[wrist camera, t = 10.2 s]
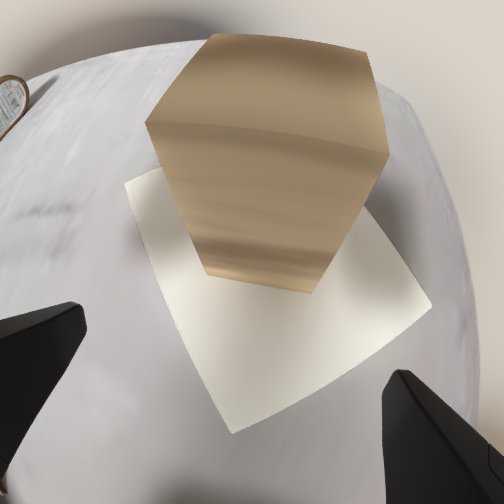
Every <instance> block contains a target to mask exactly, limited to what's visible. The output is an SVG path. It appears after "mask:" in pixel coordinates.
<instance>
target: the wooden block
mask: <svg viewBox="0 0 504 504" xmlns="http://www.w3.org/2000/svg"><path fill="white" fill-rule="evenodd" d="M145 124H146V127H147V130H148V132H149V135H150V138H151V141H152V143H153V146H154V149H155V151H156V154H157V157H158V159H159V162H160V164H161V167H162V170H163V172H164V175H165V177H166V180H167V182H168V185H169V187H170V190H171V192H172V195H173V197H174V200H175V202H176V205H177V207H178V209H179V212H180V214H181V217H182V219H183V221H184V224H185V226H186V229H187V231H188V233H189V236H190V238H191V240H192V243H193V245H194V247H195V249H196V252H197V254H198V256H199V259H200V261H201V263H202V265H203V268H204V270H205V272H206V274H207V275H209V276H215V277H220V278H225V279H230V280H235V281H240V282H246V283H251V284H257V285H262V286H268V287H273V288H279V289H284V290H290V291H296V292H302V293H308V294H312V292H313V291H314V289H315V287H316V286H317V284H318V283H319V281H320V279H321V278H322V276H323V275H324V273H325V271H326V270H327V268H328V266H329V265H330V263H331V261H332V260H333V258H334V256H335V255H336V253H337V251H338V250H339V248H340V246H341V245H342V243H343V241H344V239H345V238H346V236H347V234H348V233H349V231H350V229H351V227H352V226H353V224H354V222H355V220H356V218H357V217H358V215H359V213H360V211H361V209H362V208H363V206H364V204H365V202H366V200H367V198H368V196H369V195H370V193H371V191H372V189H373V187H374V185H375V183H376V181H377V179H378V178H379V176H380V174H381V172H382V170H383V168H384V166H385V164H386V162H387V160H388V158H389V156H390V153H389V147H388V141H387V135H386V130H385V125H384V120H383V115H382V110H381V106H380V101H379V97H378V93H377V89H376V85H375V81H374V77H373V73H372V70H371V66H370V63H369V60H368V56H367V53H366V52H362V51H358V50H354V49H350V48H345V47H341V46H336V45H331V44H326V43H320V42H315V41H308V40H302V39H293V38H286V37H276V36H264V35H248V34H213V35H212V36H211V37H210V38H209V39H208V40H207V41H206V43H205V44H204V45H203V46H202V47H201V48H200V49H199V51H198V52H197V53H196V54H195V55H194V57H193V58H192V59H191V60H190V61H189V63H188V64H187V65H186V66H185V68H184V69H183V70H182V71H181V73H180V74H179V75H178V76H177V78H176V79H175V80H174V82H173V83H172V84H171V86H170V87H169V88H168V90H167V91H166V92H165V94H164V95H163V97H162V98H161V99H160V101H159V102H158V104H157V105H156V106H155V108H154V109H153V111H152V112H151V114H150V115H149V117H148V118H147V120H146V121H145Z"/></svg>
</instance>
